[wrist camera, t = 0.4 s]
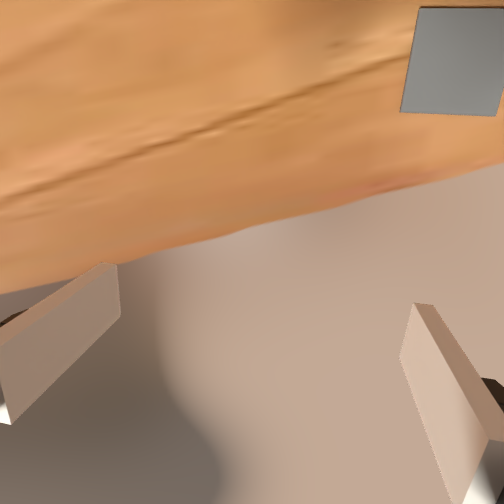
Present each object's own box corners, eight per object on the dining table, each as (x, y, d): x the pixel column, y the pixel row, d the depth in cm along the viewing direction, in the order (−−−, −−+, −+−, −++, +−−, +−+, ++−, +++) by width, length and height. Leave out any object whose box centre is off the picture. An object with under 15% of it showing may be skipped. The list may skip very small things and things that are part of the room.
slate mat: (418, 9, 33) (420, 8, 32) (522, 10, 31) (525, 8, 31) (399, 112, 36) (400, 112, 35) (493, 116, 34) (495, 116, 34)
